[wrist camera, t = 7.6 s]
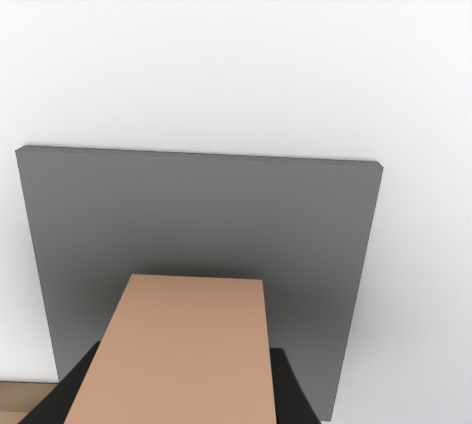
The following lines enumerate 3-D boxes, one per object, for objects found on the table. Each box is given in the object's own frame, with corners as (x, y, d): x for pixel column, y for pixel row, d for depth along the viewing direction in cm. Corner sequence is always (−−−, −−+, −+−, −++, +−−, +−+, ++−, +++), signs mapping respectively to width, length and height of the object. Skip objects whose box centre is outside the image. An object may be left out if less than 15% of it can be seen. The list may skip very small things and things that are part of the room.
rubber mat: (377, 162, 13) (383, 167, 13) (327, 410, 18) (330, 421, 18) (24, 145, 13) (15, 150, 13) (69, 400, 18) (64, 411, 17)
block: (262, 279, 13) (279, 446, 8) (253, 375, 15) (262, 565, 10) (131, 274, 13) (57, 438, 8) (138, 371, 15) (82, 559, 10)
